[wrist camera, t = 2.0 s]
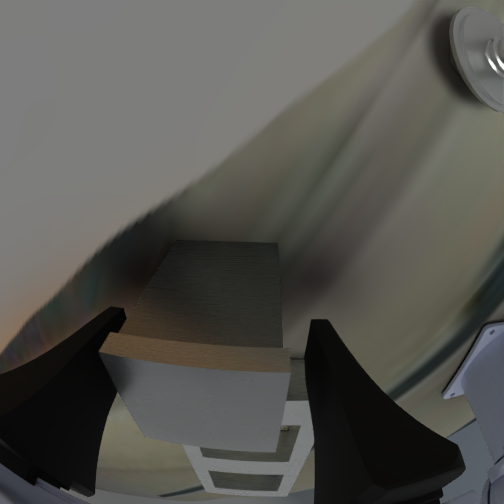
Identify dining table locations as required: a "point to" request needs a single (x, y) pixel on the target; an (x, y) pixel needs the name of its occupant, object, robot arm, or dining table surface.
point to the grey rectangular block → (206, 349)
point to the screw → (479, 54)
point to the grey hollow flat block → (262, 463)
